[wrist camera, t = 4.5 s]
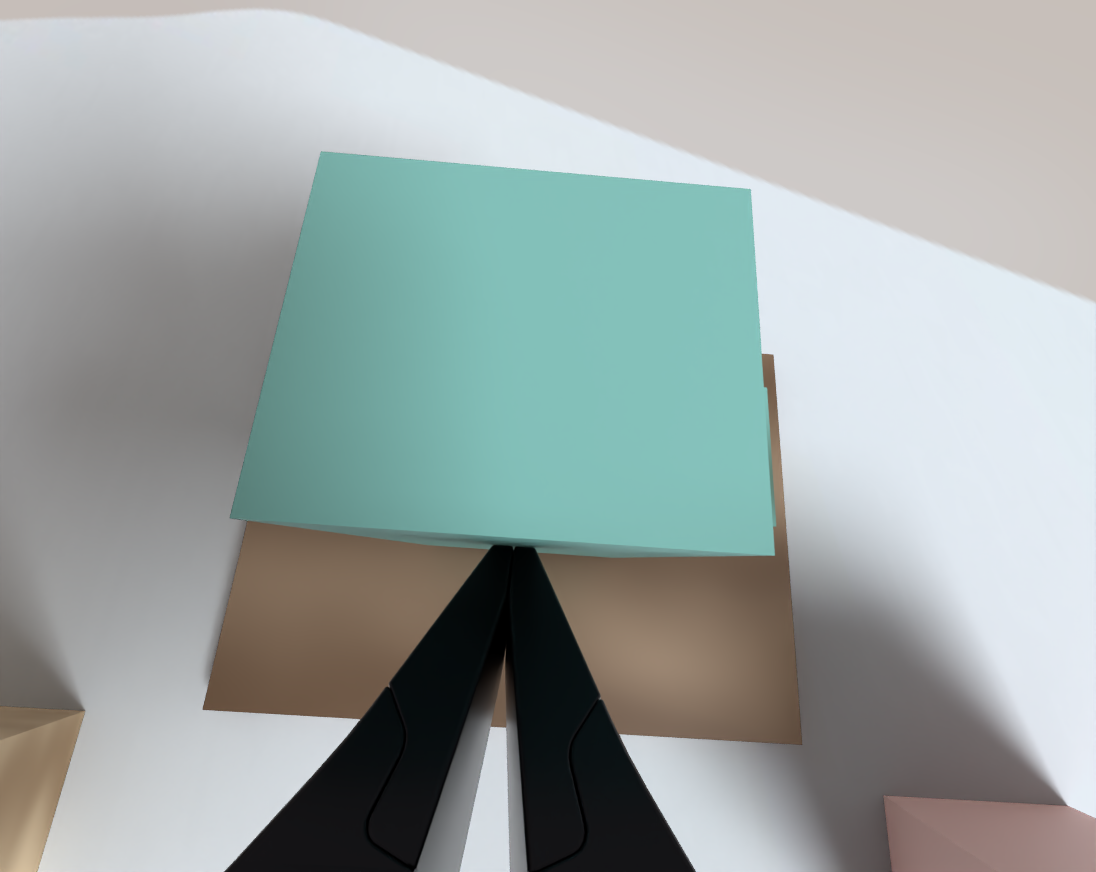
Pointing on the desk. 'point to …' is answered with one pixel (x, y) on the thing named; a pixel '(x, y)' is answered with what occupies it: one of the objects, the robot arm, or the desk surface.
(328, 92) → the desk surface
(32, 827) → the oak block
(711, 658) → the walnut board
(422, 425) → the teal block
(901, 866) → the rose block
